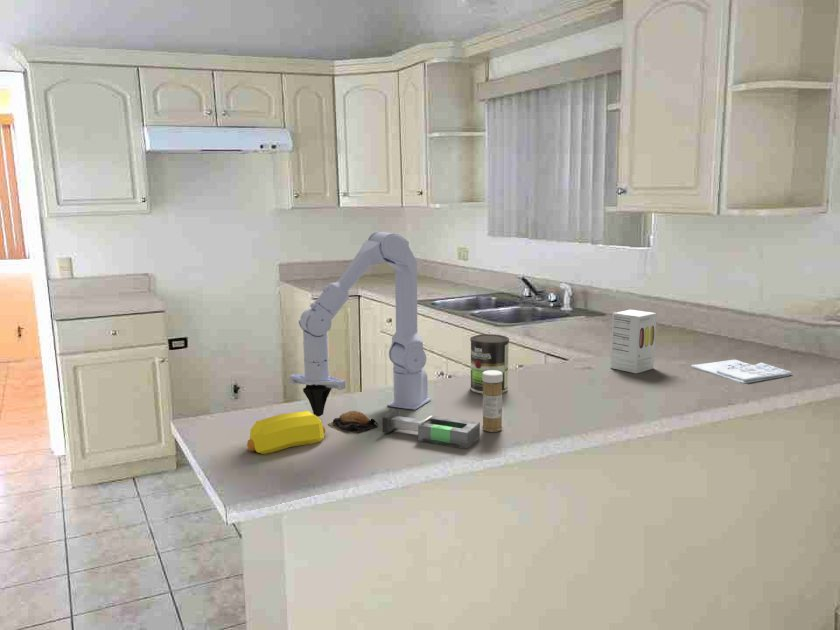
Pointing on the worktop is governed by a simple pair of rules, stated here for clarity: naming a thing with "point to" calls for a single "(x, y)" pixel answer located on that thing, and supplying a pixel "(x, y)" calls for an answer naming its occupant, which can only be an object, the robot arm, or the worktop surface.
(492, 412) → the sprinkles bottle
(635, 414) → the worktop surface
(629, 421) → the worktop surface
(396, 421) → the grey angular piece
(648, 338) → the supplement box
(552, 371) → the worktop surface
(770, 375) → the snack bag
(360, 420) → the bread roll
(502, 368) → the coffee can
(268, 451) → the yellow banana
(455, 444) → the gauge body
